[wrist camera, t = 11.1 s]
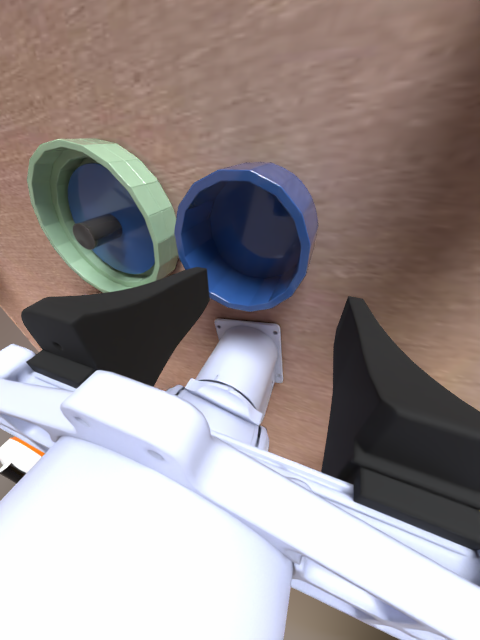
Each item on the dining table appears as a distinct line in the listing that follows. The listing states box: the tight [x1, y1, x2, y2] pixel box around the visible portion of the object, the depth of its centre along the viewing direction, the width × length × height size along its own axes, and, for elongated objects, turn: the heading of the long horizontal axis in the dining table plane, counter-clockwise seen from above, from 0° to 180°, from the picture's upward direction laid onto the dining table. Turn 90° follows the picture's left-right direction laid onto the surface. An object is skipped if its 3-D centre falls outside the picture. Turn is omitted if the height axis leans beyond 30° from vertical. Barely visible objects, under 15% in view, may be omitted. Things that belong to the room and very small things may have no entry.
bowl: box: [27, 139, 179, 293], centre depth 24 cm, size 14×14×4 cm
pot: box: [174, 162, 318, 312], centre depth 19 cm, size 10×10×5 cm
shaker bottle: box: [0, 436, 45, 484], centre depth 48 cm, size 9×9×20 cm
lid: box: [68, 163, 155, 274], centre depth 23 cm, size 11×11×5 cm
